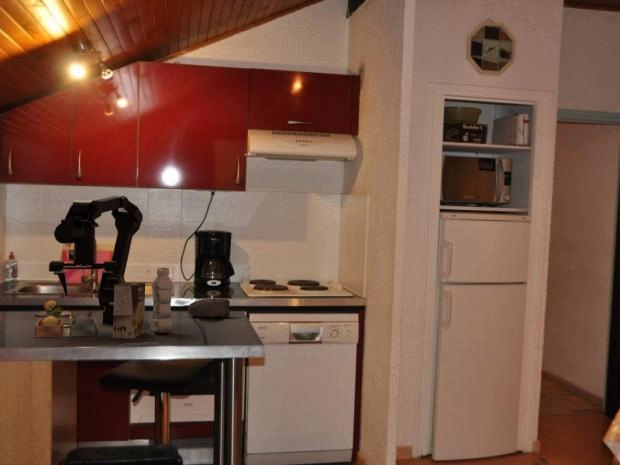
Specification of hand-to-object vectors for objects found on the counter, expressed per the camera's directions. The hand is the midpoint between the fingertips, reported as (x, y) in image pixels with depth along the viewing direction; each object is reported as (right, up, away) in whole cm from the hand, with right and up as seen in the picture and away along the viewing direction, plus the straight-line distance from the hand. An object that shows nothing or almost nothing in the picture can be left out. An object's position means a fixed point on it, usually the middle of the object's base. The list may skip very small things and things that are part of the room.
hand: (83, 295), depth 172 cm
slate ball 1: (-1, -11, +3) cm, 11 cm away
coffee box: (+14, -13, -2) cm, 19 cm away
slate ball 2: (+1, -11, -2) cm, 11 cm away
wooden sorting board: (-6, -12, +2) cm, 13 cm away
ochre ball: (-10, -11, -1) cm, 14 cm away
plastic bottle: (+21, -13, +7) cm, 26 cm away
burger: (-22, -11, +29) cm, 38 cm away
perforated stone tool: (+30, -13, +40) cm, 52 cm away
